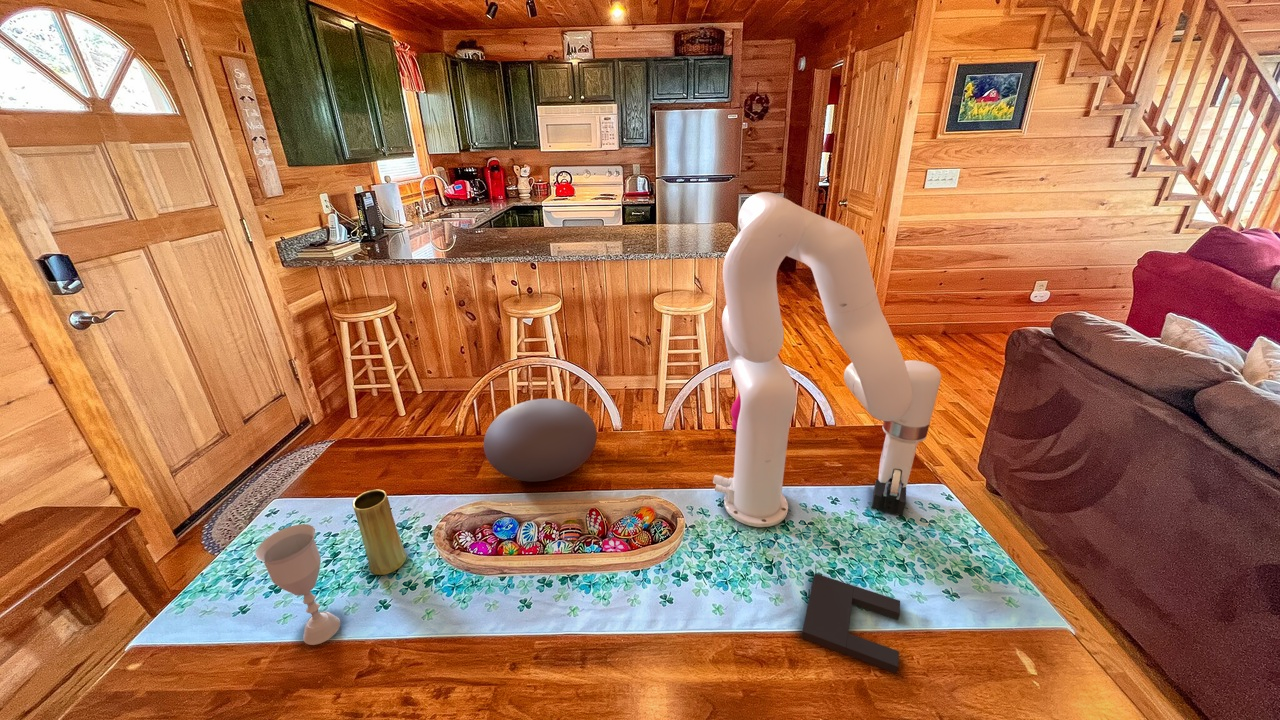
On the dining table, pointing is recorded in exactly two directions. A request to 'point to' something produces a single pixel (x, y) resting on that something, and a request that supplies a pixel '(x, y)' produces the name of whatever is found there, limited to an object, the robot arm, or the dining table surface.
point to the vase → (379, 532)
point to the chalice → (298, 575)
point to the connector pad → (880, 488)
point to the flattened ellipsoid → (540, 440)
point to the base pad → (847, 621)
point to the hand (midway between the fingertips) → (888, 500)
